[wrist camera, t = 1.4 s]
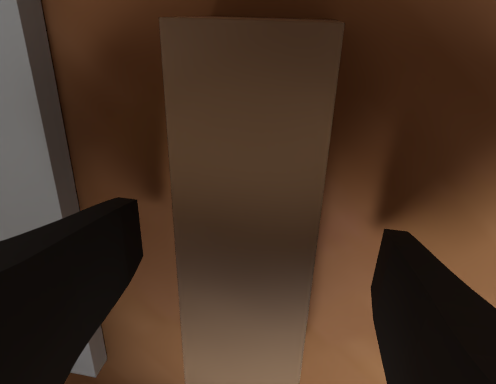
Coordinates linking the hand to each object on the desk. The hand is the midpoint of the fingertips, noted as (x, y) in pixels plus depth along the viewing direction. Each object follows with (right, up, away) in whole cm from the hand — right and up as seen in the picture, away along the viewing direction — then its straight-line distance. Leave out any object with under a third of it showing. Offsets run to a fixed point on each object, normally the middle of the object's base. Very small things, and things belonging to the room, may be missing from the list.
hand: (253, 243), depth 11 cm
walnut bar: (0, +1, +2) cm, 2 cm away
